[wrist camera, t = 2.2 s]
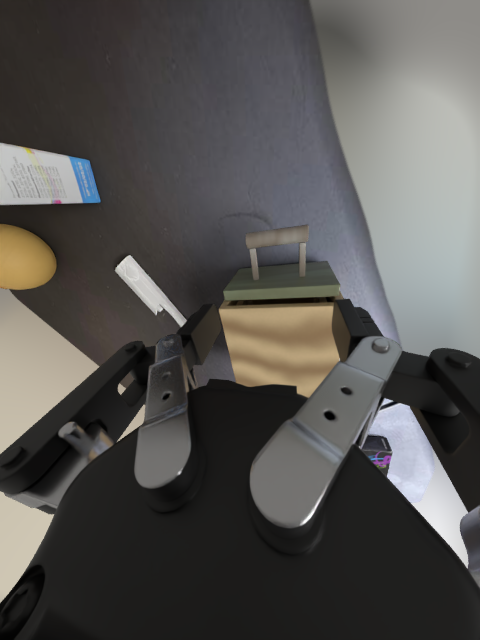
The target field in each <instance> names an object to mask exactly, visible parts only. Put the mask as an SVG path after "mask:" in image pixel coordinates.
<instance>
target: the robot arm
mask: <svg viewBox="0 0 480 640" xmlns="http://www.w3.org/2000/svg"><path fill="white" fill-rule="evenodd" d="M220 331H221V323H220V319H219V315H218V311H217V307H216V305H215V304H205V305H203V306H202V307H201V308H200V310H199V311H198V312H196V313H194V314H193V315H191V317H190V318H189V319H188V321H186V322H185V324H184V325H183V326H182V327H181V328H180V329H179V331H178V332H177V333H176V334H171V335H167V336H165V337H163V338H161V339H160V340H159V341H158V342H157V344H156V346H151V347H145V345H144V343H143V342H142V341H134V342H131V343H128V344H126V345H125V346H123V347H122V348H121V349H120V350H118V351H117V352H116V353H115V354H114V355H113V356H112V357H110V358H109V359H108V360H107V361H106V362H105V363H104V364H102V365H101V366H100V367H99V368H98V369H97V370H96V371H95V372H94V373H92V374H91V375H90V376H89V377H88V378H87V379H86V380H84V381H83V382H82V383H81V384H80V385H79V386H77V387H76V388H75V389H74V390H73V391H72V392H71V393H70V394H68V395H67V396H66V397H65V398H64V399H63V400H62V401H60V403H58V404H57V405H56V406H55V407H54V408H52V409H51V410H50V411H49V412H48V413H47V414H46V415H45V416H43V417H42V418H41V419H40V420H39V421H38V422H37V423H35V424H34V425H33V426H32V427H31V428H30V429H29V430H27V431H26V432H25V433H24V434H23V435H22V436H21V437H20V438H19V439H17V440H16V441H15V442H14V443H13V444H12V445H10V446H9V447H8V448H7V449H6V450H5V451H4V452H2V453H1V454H0V491H1V492H4V494H5V495H6V496H8V497H10V498H12V499H14V500H16V501H18V502H20V503H22V504H25V505H27V506H29V507H31V508H37V509H39V510H41V511H44V512H46V513H48V514H54V517H53V519H52V522H51V524H50V526H49V528H48V530H47V533H46V535H45V537H44V539H43V541H42V542H41V544H40V546H39V548H38V550H37V552H36V554H35V555H34V557H33V559H32V561H31V562H30V564H29V566H28V567H27V569H26V571H25V572H24V574H23V575H22V576H21V578H20V579H19V581H18V582H17V584H16V585H15V586H14V587H13V589H12V590H11V591H10V593H9V594H8V595H7V596H6V598H4V600H3V601H2V602H1V603H0V640H480V359H479V358H477V357H475V356H473V355H471V354H468V353H466V352H463V351H460V350H455V349H448V348H440V349H435V350H433V351H432V352H431V354H430V356H429V357H427V356H422V355H417V354H413V353H408V352H405V351H402V348H401V346H400V345H399V344H398V343H397V342H395V341H393V340H391V339H389V338H386V337H384V336H383V335H382V333H381V332H380V330H379V328H378V327H377V325H376V324H375V323H374V321H373V319H372V318H371V316H370V315H369V313H368V312H367V311H366V310H364V309H362V308H361V307H354V306H353V304H352V302H351V300H350V299H336V300H334V306H333V316H332V333H333V337H334V340H335V344H336V347H337V351H338V354H339V358H340V361H339V362H337V364H336V365H335V366H334V367H333V369H332V370H331V371H330V372H329V373H328V375H327V376H326V377H325V378H324V380H323V381H322V382H321V383H320V385H319V386H318V387H317V388H316V390H315V391H314V392H313V393H312V395H311V396H310V397H309V398H308V397H306V396H303V395H301V394H298V393H297V386H293V385H280V384H269V385H261V386H254V387H248V386H244V385H241V384H238V383H235V382H232V381H229V380H219V379H209V381H208V383H207V385H206V386H202V387H198V386H197V381H196V377H195V372H194V369H193V366H194V365H202V364H203V363H204V361H205V359H206V357H207V355H208V353H209V351H210V350H211V348H212V346H213V344H214V342H215V340H216V339H217V337H218V335H219V333H220ZM129 372H130V374H131V375H132V377H133V378H134V381H133V382H132V383H131V384H130V385H129V386H128V387H127V389H126V390H125V391H124V392H123V393H122V394H121V395H120V394H119V392H118V384H119V383H120V382H121V380H122V379H123V378H124V377H125V376H126V375H127V374H128V373H129ZM385 398H386V399H389V400H393V401H396V402H399V403H402V404H405V405H408V406H410V408H411V410H412V412H413V413H414V415H415V417H416V419H417V421H418V422H419V424H420V426H421V428H422V430H423V431H424V433H425V435H426V437H427V439H428V440H429V442H430V444H431V446H432V448H433V450H434V451H435V453H436V455H437V457H438V459H439V460H440V462H441V464H442V466H443V468H444V469H445V471H446V473H447V475H448V477H449V478H450V480H451V482H452V484H453V486H454V487H455V489H456V491H457V493H458V494H459V497H460V498H461V500H462V502H463V504H464V505H465V507H466V509H467V511H468V514H466V515H465V516H464V517H463V518H462V519H461V522H460V532H461V536H462V539H463V541H464V544H465V547H466V549H467V554H468V562H469V564H468V569H467V568H466V566H465V565H464V563H463V562H462V561H461V559H460V558H459V557H458V556H457V554H456V553H455V552H454V551H453V550H452V548H451V547H450V546H449V545H448V544H447V543H446V541H445V540H444V539H443V538H442V537H441V536H440V535H439V534H438V533H437V531H435V529H434V528H433V527H432V526H431V525H430V524H429V523H428V522H427V521H426V519H425V518H424V517H423V516H422V515H421V514H420V513H419V512H418V511H417V510H416V509H415V507H414V506H413V505H412V504H411V503H410V502H409V501H408V500H407V499H406V498H405V497H404V495H403V494H402V493H401V492H400V491H399V490H398V489H397V488H396V487H395V486H394V485H393V483H392V482H391V481H390V480H389V479H388V478H387V477H386V476H385V475H384V474H383V473H382V471H381V470H380V469H379V468H378V467H377V466H376V465H375V464H374V463H373V462H372V461H371V459H370V458H369V457H368V456H367V455H366V454H365V453H364V452H363V451H362V450H361V449H362V447H363V444H364V442H365V440H366V438H367V435H368V433H369V430H370V428H371V426H372V424H373V422H374V420H375V418H376V416H377V414H378V412H379V410H380V407H381V405H382V403H383V401H384V399H385ZM145 402H146V408H145V419H144V423H143V424H142V425H141V426H139V427H138V428H137V429H135V430H134V431H132V432H131V433H129V434H128V435H127V436H125V437H124V438H122V439H121V440H120V441H118V442H117V440H118V439H119V438H120V436H121V435H122V434H123V432H124V431H125V430H126V428H127V427H128V426H129V424H130V423H131V421H132V420H133V419H134V417H135V416H136V414H137V413H138V412H139V410H140V408H141V407H142V406H143V405H144V403H145ZM116 442H117V443H116Z"/></svg>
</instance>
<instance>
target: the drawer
mask: <svg viewBox="0 0 480 640" xmlns="http://www.w3.org/2000/svg"><path fill="white" fill-rule="evenodd" d="M308 234H309V228H308V225H301V226H294V227H287V228H280V229H273V230H266V231H259V232H252V233H246V246H247V248H248V249H250V257H251V265H252V268H242V269H239V270H238V272H237V273H236V274H235V276H234V277H233V278H232V280H231V281H230V282H229V284H228V285H227V286H226V288H225V289H224V290H223V294H224V298H225V301H232V300H239V301H238V303H237V305H236V306H238V305H268V304H298V303H327V300H326V297H329V296H339V291H340V284H339V282H338V280H337V278H336V276H335V274H334V272H333V271H332V269H331V267H330V265H329V263H328V261H321V262H310V263H305V254H306V242H308ZM292 243H299V263H298V264H287V265H276V266H265V267H258V262H257V253H256V248H258V247H267V246H275V245H284V244H292Z"/></svg>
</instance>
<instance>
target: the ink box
mask: <svg viewBox="0 0 480 640" xmlns="http://www.w3.org/2000/svg"><path fill="white" fill-rule="evenodd" d="M100 202H101V201H100V197H99V194H98V190H97V187H96V183H95V179H94V176H93V172H92V169H91V165H90V161H89V160H86V159H81V158H76V157H71V156H66V155H61V154H56V153H51V152H46V151H41V150H36V149H31V148H26V147H20V146H15V145H10V144H5V143H0V205H26V204H69V203H100Z"/></svg>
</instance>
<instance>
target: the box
mask: <svg viewBox="0 0 480 640" xmlns="http://www.w3.org/2000/svg"><path fill="white" fill-rule="evenodd" d="M361 450H362V451H363V452H364V453H365V454H366V455H367V456H368V457H369V458H370V459H371V461H372V462H373V463H374V464H375V465H376V466H377V467H378V468H379V469H380V470H381V471H382V473H383V474H384V475H385V476H386V477H387V473H388V469H389V464H390V460H391V456H392V450H391V448H390V445H389V443H388V440H387V438H384V437H370V436H367V438H366V440H365V442H364V444H363V447H362V449H361Z"/></svg>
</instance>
